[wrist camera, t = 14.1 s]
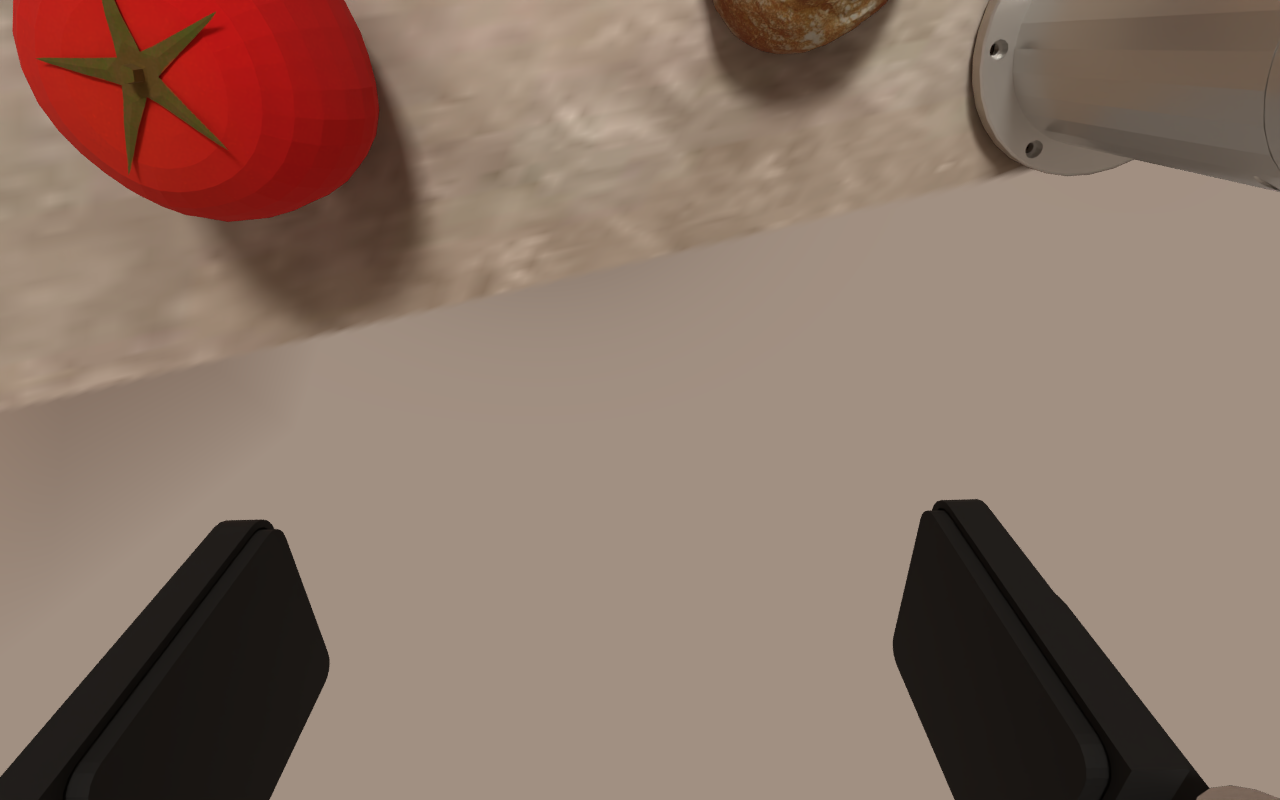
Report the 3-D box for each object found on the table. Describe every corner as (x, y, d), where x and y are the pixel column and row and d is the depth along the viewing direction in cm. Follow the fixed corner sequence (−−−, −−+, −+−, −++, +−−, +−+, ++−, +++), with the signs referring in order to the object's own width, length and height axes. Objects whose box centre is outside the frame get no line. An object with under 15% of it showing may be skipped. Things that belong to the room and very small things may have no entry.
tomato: (443, 12, 32) (345, -5, 21) (373, 227, 36) (264, 307, 25) (174, -138, 29) (-109, -252, 18) (137, 118, 34) (-103, 154, 23)
